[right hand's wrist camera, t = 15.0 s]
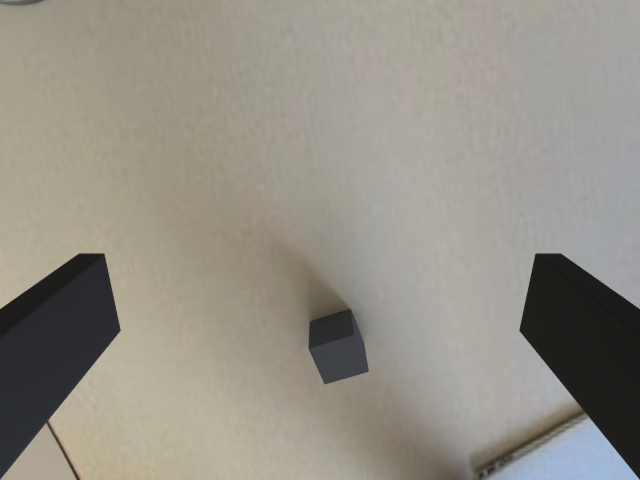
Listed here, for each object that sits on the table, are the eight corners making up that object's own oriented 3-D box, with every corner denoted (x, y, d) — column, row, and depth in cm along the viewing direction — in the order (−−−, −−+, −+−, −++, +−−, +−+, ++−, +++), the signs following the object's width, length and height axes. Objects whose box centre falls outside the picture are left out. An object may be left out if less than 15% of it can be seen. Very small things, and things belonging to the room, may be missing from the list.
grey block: (309, 321, 46) (308, 348, 42) (350, 309, 46) (354, 334, 41) (324, 355, 48) (324, 384, 43) (364, 343, 47) (368, 371, 43)
